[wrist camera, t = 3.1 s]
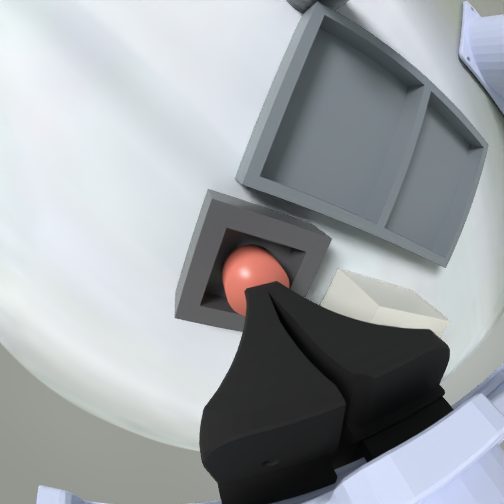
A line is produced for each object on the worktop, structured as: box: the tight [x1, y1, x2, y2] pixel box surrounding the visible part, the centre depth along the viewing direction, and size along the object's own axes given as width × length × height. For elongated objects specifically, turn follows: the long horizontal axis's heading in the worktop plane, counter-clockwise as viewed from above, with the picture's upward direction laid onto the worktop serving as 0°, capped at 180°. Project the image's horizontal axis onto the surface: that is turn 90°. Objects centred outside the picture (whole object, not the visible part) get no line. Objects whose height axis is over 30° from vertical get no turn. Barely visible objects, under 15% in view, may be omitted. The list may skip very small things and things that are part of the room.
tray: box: [235, 2, 488, 268], centre depth 14 cm, size 16×10×2 cm, turn 69°
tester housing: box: [175, 189, 332, 332], centre depth 14 cm, size 6×6×2 cm
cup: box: [320, 268, 450, 338], centre depth 18 cm, size 8×8×5 cm
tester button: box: [221, 244, 289, 316], centre depth 13 cm, size 3×3×2 cm
